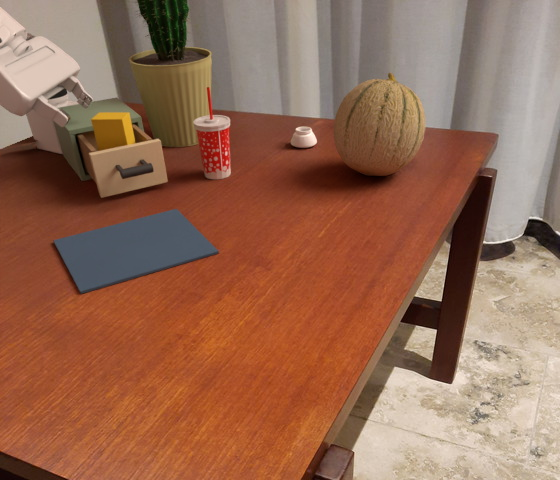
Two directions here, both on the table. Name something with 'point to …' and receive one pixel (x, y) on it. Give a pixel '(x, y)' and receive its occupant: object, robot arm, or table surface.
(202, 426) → the table surface
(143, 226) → the mat
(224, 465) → the table surface
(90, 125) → the cabinet
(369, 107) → the cantaloupe
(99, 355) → the table surface
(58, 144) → the container
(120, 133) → the sponge
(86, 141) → the drawer
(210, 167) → the beverage cup
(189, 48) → the potted cactus
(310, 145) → the white jar
